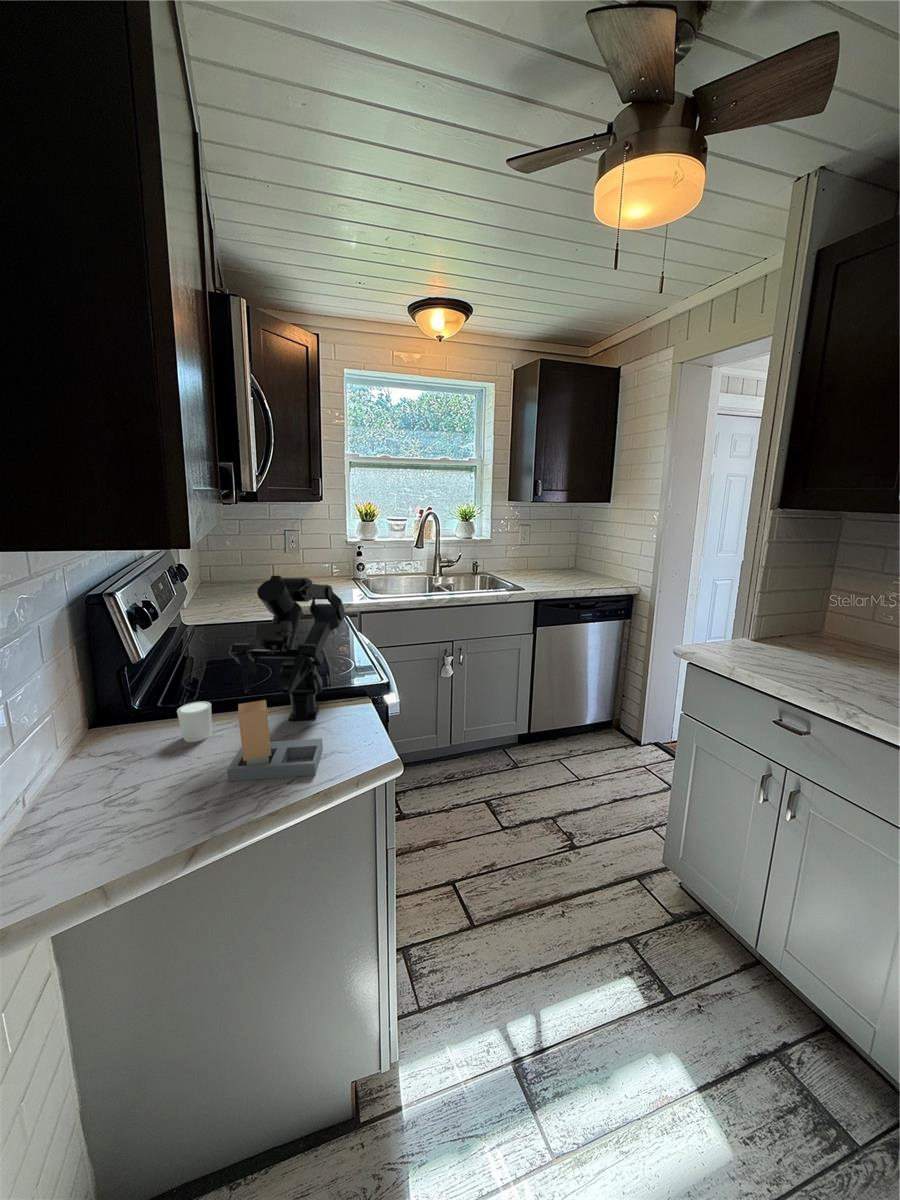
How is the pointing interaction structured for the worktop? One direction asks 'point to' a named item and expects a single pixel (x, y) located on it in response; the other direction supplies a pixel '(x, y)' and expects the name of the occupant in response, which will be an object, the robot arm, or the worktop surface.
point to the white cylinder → (195, 721)
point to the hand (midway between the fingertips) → (267, 692)
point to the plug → (254, 732)
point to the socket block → (279, 761)
